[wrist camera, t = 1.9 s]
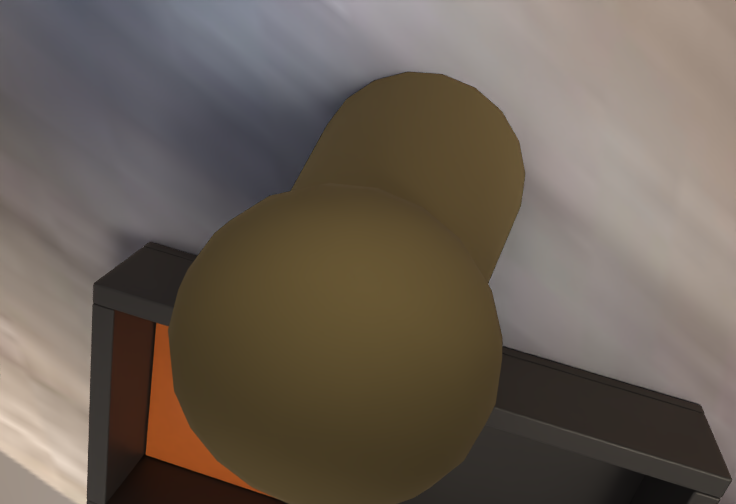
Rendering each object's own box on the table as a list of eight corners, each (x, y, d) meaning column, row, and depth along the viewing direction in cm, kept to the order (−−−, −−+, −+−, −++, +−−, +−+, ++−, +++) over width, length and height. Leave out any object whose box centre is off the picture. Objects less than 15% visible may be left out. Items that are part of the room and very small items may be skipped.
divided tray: (149, 241, 21) (92, 283, 18) (702, 405, 20) (734, 480, 17) (134, 453, 25) (85, 514, 23) (591, 605, 24) (601, 694, 21)
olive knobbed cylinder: (554, 100, 17) (604, 281, 7) (491, 297, 20) (464, 629, 10) (334, 48, 18) (102, 147, 8) (302, 245, 20) (96, 506, 10)
